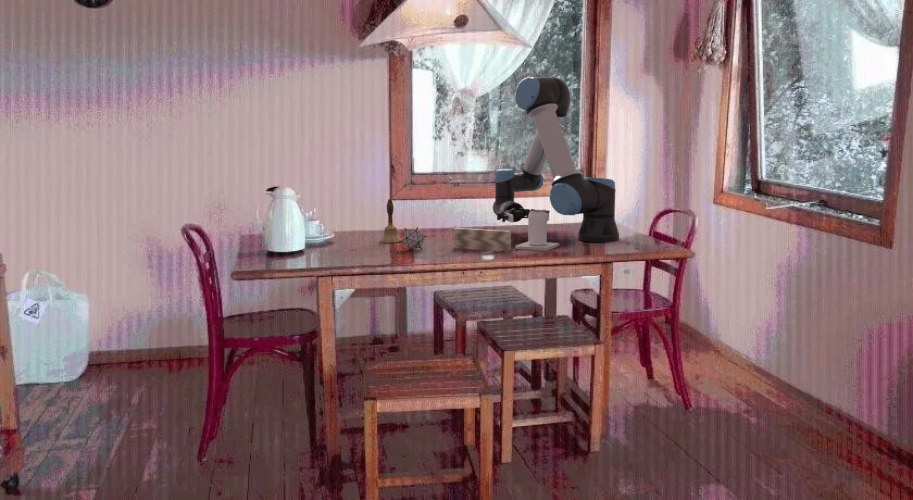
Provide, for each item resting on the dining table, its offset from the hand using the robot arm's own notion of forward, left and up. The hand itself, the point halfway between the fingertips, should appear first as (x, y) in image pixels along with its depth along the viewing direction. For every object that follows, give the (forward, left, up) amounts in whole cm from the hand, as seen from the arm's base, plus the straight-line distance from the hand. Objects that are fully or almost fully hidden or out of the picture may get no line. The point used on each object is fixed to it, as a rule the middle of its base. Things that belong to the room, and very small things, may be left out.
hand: (530, 217), depth 309 cm
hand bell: (+51, +14, -10) cm, 54 cm away
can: (-5, +6, -9) cm, 12 cm away
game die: (+33, +28, -10) cm, 44 cm away
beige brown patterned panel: (+11, +18, -10) cm, 23 cm away
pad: (-5, +6, -10) cm, 12 cm away
